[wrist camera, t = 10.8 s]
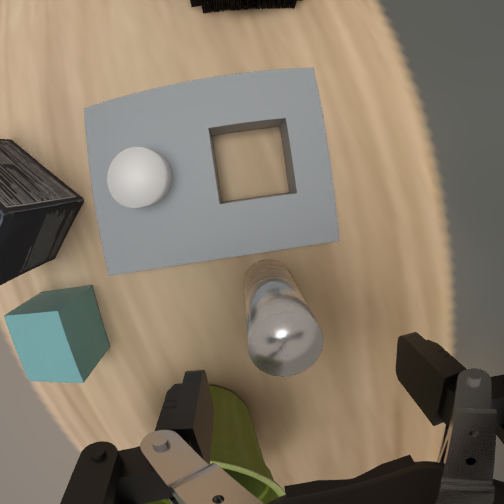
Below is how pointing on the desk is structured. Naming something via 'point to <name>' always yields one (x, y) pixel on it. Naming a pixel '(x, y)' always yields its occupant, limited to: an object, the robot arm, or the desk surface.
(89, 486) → the robot arm
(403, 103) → the desk surface
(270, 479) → the plant pot
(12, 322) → the teal cube
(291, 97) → the peg board
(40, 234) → the small box
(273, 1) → the cpu cooler
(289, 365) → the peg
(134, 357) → the desk surface
